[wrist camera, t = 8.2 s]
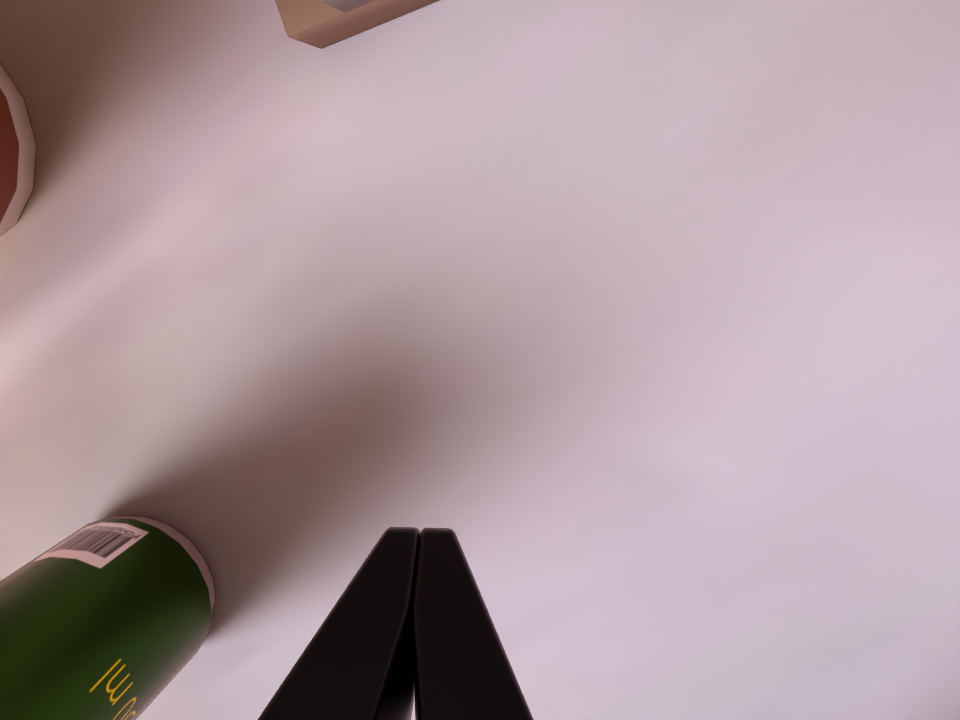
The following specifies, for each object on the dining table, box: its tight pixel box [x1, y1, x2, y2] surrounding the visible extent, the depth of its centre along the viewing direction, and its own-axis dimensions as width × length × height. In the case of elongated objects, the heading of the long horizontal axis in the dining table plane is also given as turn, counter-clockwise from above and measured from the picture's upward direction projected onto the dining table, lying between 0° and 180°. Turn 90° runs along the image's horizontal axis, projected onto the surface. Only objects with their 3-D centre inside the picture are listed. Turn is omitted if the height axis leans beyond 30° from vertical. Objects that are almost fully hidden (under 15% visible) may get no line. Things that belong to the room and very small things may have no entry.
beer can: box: [0, 516, 215, 720], centre depth 20 cm, size 5×5×12 cm
